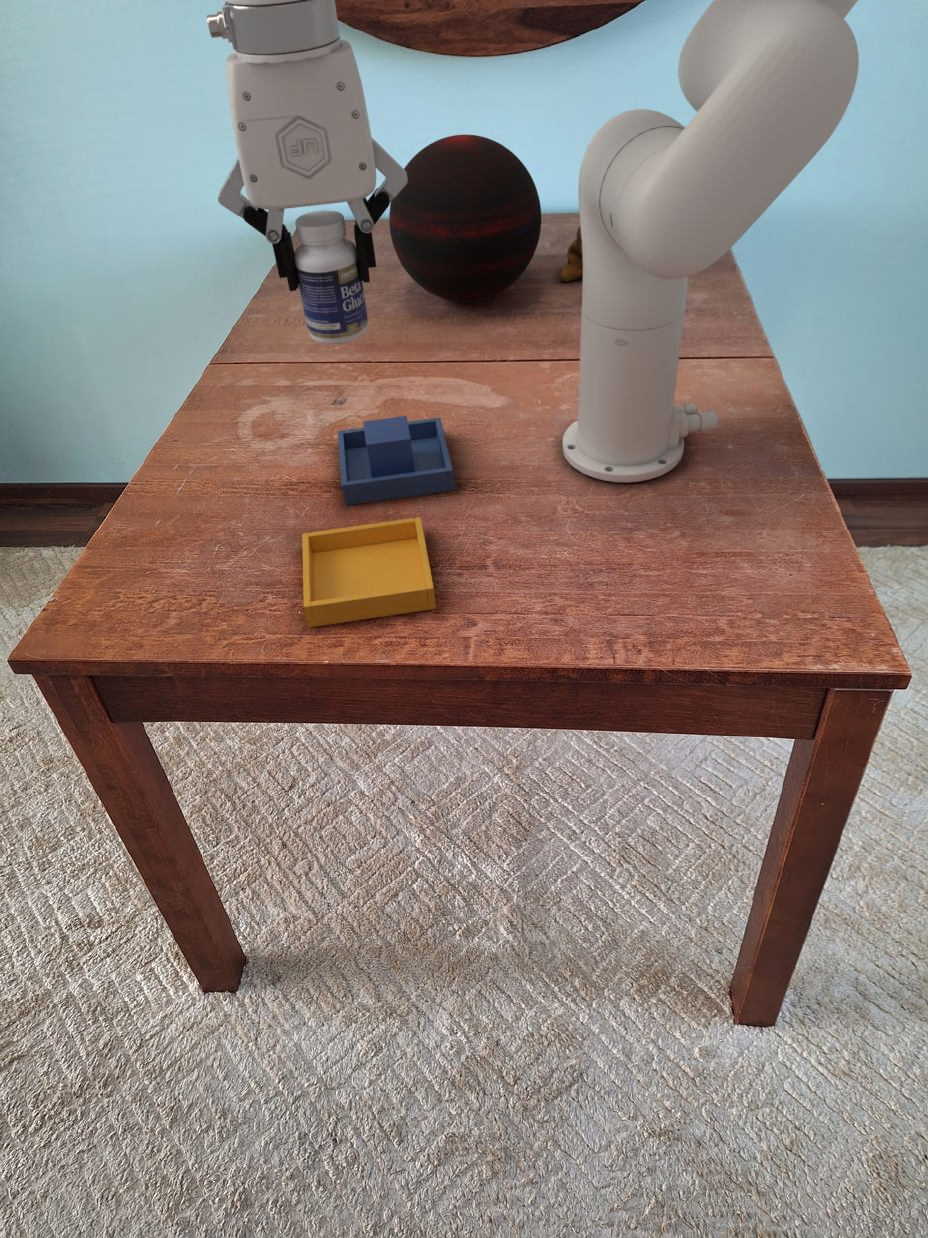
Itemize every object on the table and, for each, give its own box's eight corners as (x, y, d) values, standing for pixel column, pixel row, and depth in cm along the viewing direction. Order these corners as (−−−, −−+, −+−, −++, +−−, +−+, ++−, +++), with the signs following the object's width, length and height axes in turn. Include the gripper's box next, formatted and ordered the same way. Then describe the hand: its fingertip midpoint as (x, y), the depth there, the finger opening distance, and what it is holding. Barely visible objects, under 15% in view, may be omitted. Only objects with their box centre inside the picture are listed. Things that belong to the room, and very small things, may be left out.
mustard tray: (423, 537, 83) (420, 516, 81) (436, 608, 76) (433, 588, 74) (307, 553, 83) (302, 533, 81) (309, 627, 75) (303, 607, 74)
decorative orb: (383, 326, 116) (361, 165, 102) (415, 265, 130) (400, 115, 116) (532, 329, 112) (530, 163, 98) (548, 266, 126) (549, 112, 112)
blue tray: (442, 436, 96) (440, 417, 94) (454, 490, 88) (452, 470, 87) (341, 450, 95) (337, 430, 93) (345, 505, 88) (341, 485, 86)
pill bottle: (358, 347, 75) (339, 231, 68) (300, 344, 76) (275, 230, 69) (377, 319, 78) (360, 206, 71) (321, 316, 79) (300, 205, 73)
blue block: (411, 452, 93) (406, 415, 90) (415, 475, 90) (410, 438, 87) (369, 457, 93) (363, 421, 90) (372, 481, 89) (366, 444, 86)
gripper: (155, 51, 58) (225, 311, 71) (409, 24, 59) (433, 286, 71) (170, 28, 63) (233, 273, 76) (402, 4, 64) (426, 251, 77)
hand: (329, 277), depth 74 cm, fingers closed on pill bottle, 5 cm apart
